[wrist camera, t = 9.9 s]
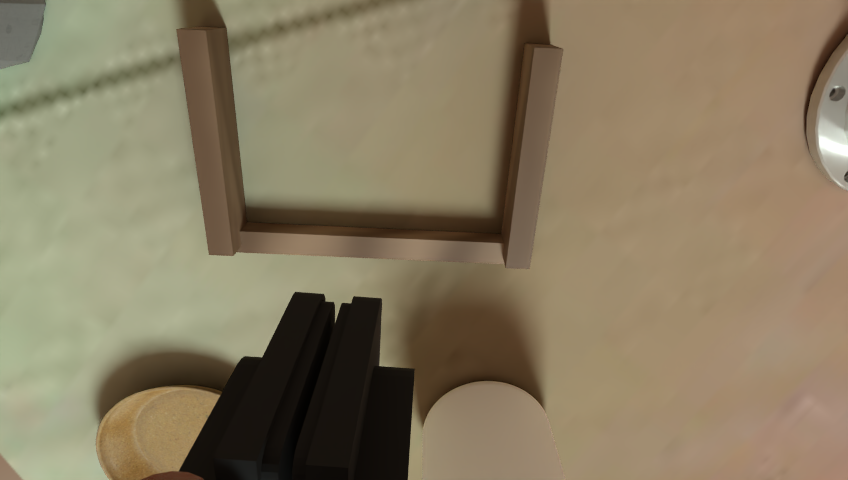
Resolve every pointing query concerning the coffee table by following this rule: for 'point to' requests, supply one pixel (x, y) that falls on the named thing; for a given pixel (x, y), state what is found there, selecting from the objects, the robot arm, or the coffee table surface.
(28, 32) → the coffeepot
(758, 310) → the coffee table surface
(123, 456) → the plant saucer
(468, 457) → the cup
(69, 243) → the coffee table surface
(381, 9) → the coffee table surface
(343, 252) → the frame
